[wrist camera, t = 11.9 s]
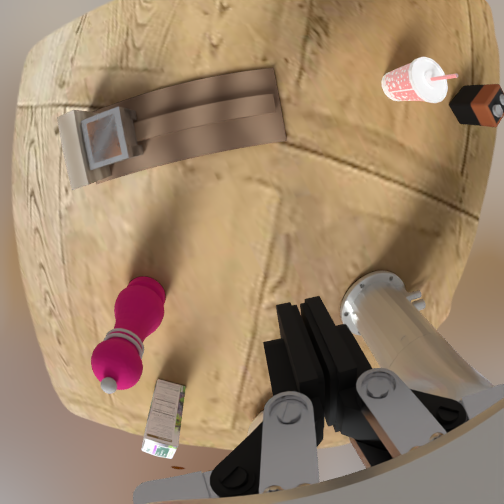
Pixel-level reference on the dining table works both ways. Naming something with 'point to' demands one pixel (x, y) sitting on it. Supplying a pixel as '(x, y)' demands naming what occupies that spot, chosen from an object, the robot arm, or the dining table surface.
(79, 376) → the dining table surface
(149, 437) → the syrup box
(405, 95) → the beverage cup
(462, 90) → the battery
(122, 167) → the rail
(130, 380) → the pepper mill
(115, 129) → the block
